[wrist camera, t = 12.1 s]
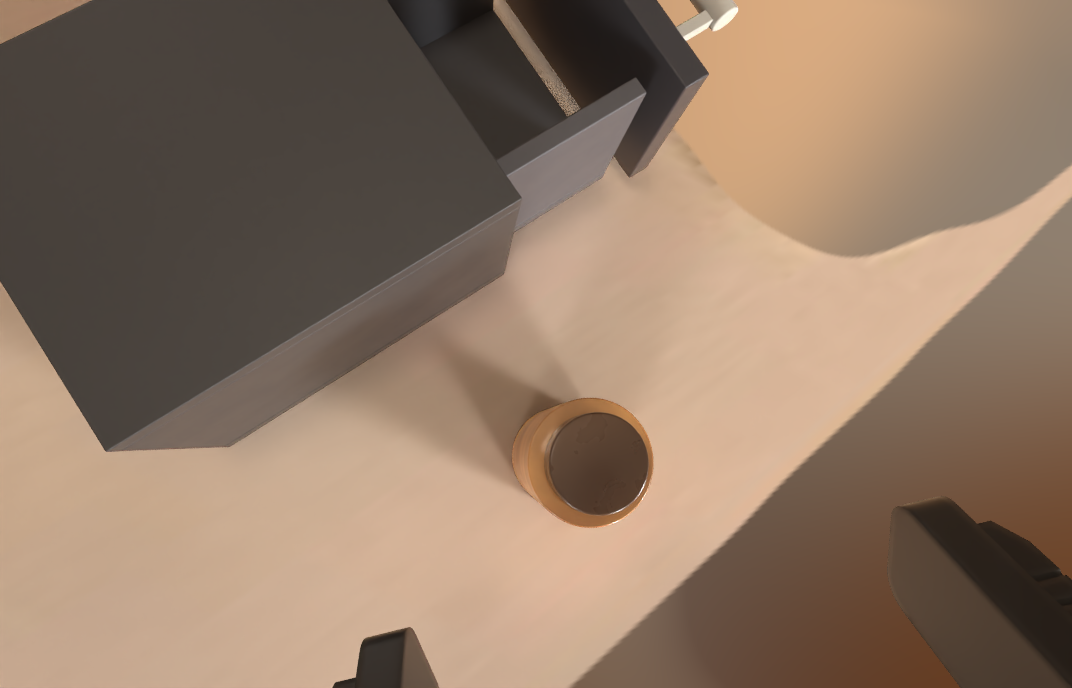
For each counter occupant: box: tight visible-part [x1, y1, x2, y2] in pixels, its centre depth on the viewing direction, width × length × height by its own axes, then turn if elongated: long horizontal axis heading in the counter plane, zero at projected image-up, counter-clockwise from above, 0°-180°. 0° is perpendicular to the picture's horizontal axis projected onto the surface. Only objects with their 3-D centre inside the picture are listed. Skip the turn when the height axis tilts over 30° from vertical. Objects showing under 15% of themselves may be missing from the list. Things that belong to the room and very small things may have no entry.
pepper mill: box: [512, 398, 653, 528], centre depth 27 cm, size 5×5×10 cm
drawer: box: [387, 0, 738, 232], centre depth 29 cm, size 20×12×9 cm, turn 124°
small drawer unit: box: [0, 0, 522, 452], centre depth 27 cm, size 16×14×11 cm
